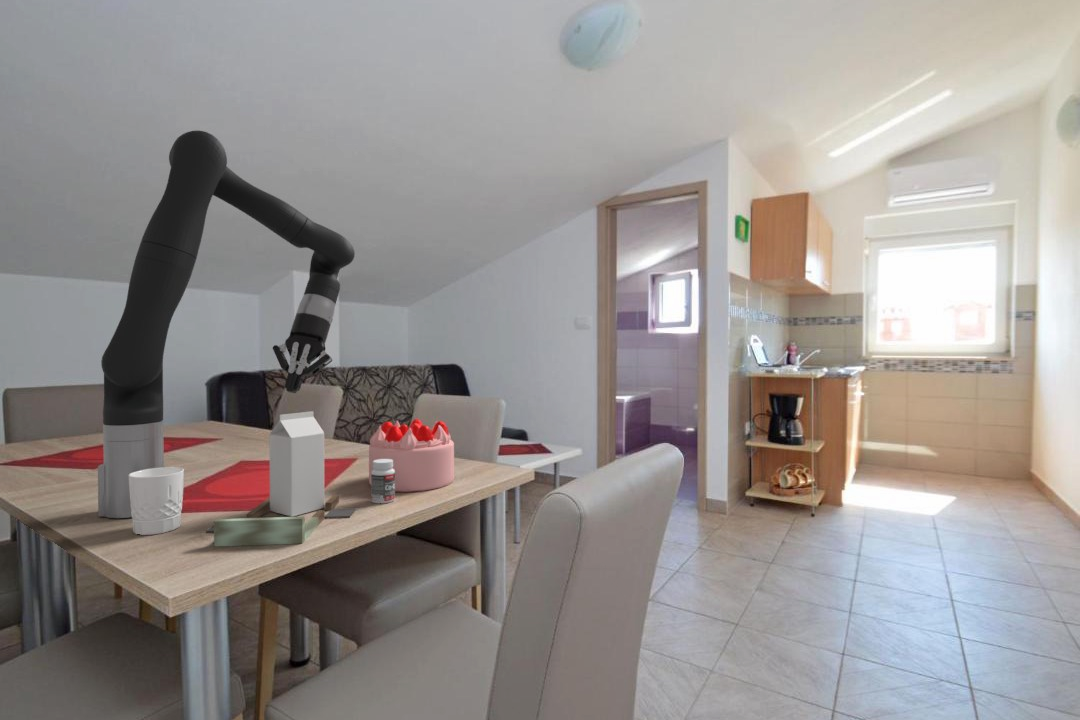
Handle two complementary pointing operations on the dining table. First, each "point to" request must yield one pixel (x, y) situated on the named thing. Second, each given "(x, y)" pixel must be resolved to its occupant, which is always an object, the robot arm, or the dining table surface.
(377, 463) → the pill bottle
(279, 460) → the milk carton
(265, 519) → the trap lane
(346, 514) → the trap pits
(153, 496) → the white cup
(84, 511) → the dining table surface
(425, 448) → the cake
